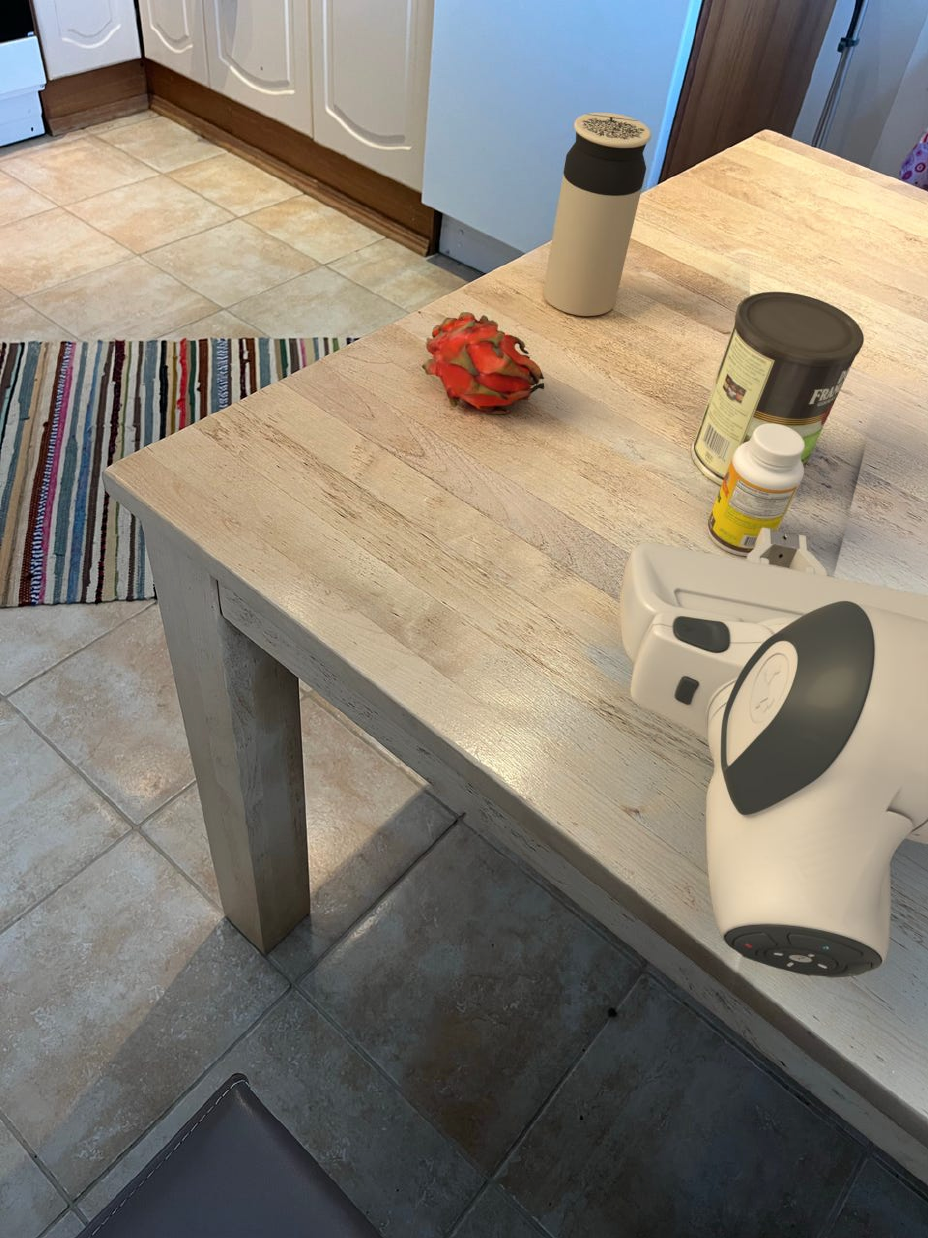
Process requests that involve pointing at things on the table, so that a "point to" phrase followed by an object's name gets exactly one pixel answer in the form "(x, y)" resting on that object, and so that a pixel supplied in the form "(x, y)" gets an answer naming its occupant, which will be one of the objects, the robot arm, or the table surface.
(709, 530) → the supplement bottle
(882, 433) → the table surface
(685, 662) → the robot arm
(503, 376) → the dragon fruit
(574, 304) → the travel mug
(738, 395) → the coffee can
